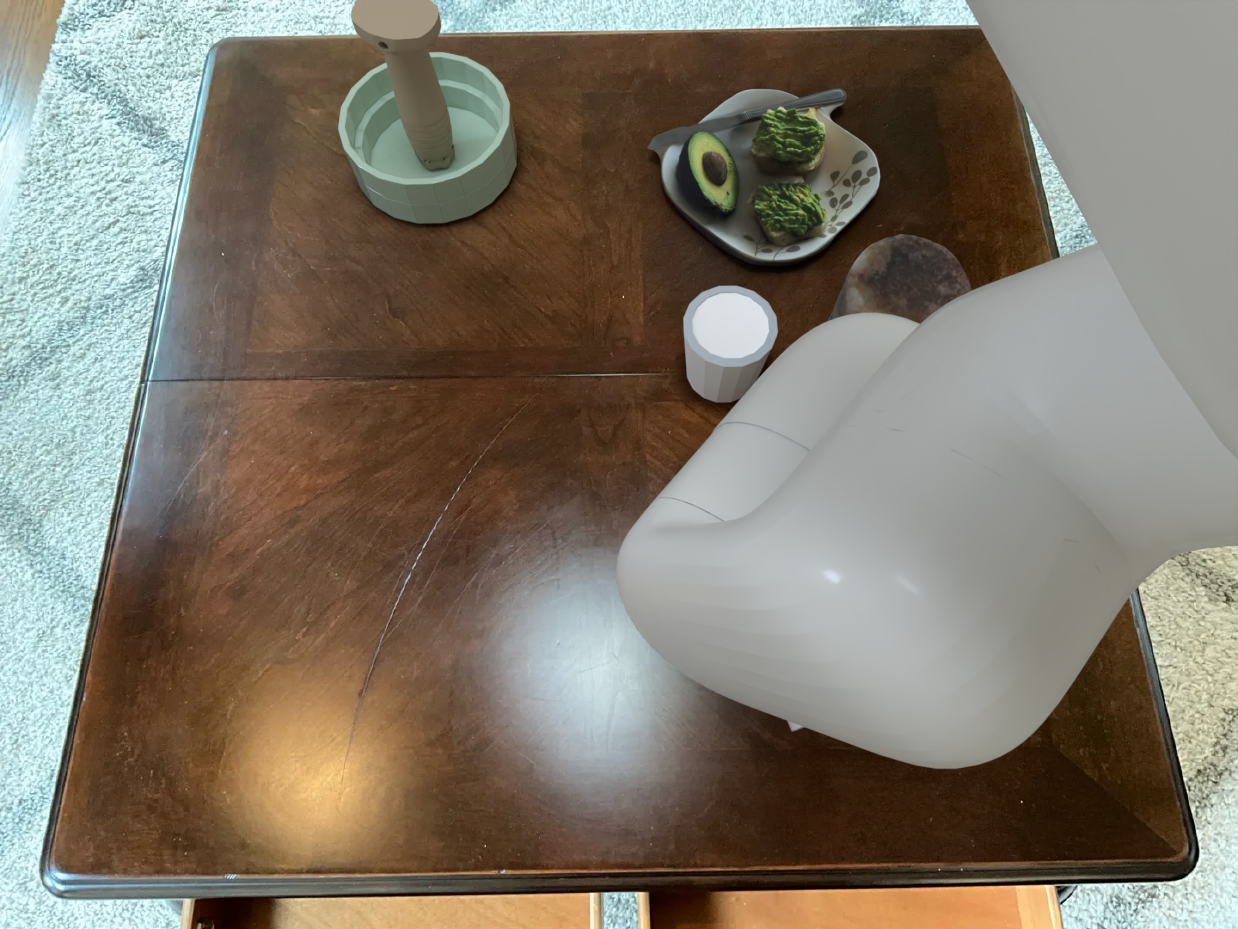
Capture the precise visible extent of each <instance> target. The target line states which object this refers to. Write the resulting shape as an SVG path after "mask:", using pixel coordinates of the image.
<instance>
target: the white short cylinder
mask: <svg viewBox="0 0 1238 929" xmlns="http://www.w3.org/2000/svg"><path fill="white" fill-rule="evenodd" d="M682 321H683V339H684V354H685V355H684V356H685V368H686V370H685V371H686V379H687V381H688V383H689V385H690V386H691V388H692V390H693V391H695V393H697V394H698V395H700V397H702V398H703V399H705V400H708V401H711V402H714V403H733V402H735V401H739V400H740V399H741V398H742V397H743V396H744V395H745V393H746V392H747V391H748V390H749V389H750V388H751V386H752V385H753V384H754V383H755V382H756V381H757V380H758V379H759V377H760V374H761V372H762V370H763V368H764V366H765V363H766V362H767V359H768V358H769V355H770V353H771V351H772V349H773V347H774V344H775V341H776V339H777V337H778V333H779V328H778V319H777V315H776V313H775V312H774V310H773V309H772V306H771V305H770V303H769V302H768V301H767V300H766V299H765V298H764V297H762V296H761V295H760V294H759V293H757V292H756V291H754V290H751V289H748V288H746V287H742V286H738V285H718V286H714V287H712V288H710V289H707V290H704V291H702V292H700V293H699V294H698V295H697V296H696V297H695V298H694V299H693V300H692V301H690V303H689V304H688V306H687V309H686V311H685V313H684V316H683V318H682Z"/></svg>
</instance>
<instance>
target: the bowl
mask: <svg viewBox="0 0 1238 929" xmlns="http://www.w3.org/2000/svg"><path fill="white" fill-rule="evenodd" d="M429 54H430V57H431V60H432V63H433V66H434V69H435V72H436V75H437V78H438V81H439V84H440V87H441V89H442V92H443V95H444V98H445V101H446V104H447V108H448V112H449V116H450V122H451V128H452V137H453V143H452V144H454V149H455V157H454V158H453V159H452V160H451V161H450V166H449V167H447V168H439V169H435V170H434V171H432V170H428V169H426V167H425V165H424V163H423V162H421V161H419V159H418V158H417V156H416V154H415V151H414V149H413V147H412V145H411V143H410V141H409V139H408V137H407V134H406V132H405V130H404V127H403V124H402V121H401V118H400V115H399V112H398V108H397V104H396V100H395V95H394V91H393V87H392V83H391V79H390V75H389V71H388V68H387V64H386V62H384V63H382V64H380V65H378V66H376V67H375V68H373V69H370V70H369V71H368V72H367V73H366V74H364V76H362V77H361V78H360V79H359V80H358V81H357V82H356V83H355V84H354V85H353V86H352V87H351V88H350V89H349V91H348V93H347V95H346V97H345V99H344V101H343V102H342V104H341V106H340V112H339V120H338V125H337V130H338V131H337V132H338V134H339V138H340V142H341V145H342V148H343V150H344V153H345V155H346V158H347V160H348V162H349V165H350V167H351V169H352V172H353V174H354V176H355V178H356V181H357V183H358V186H359V188H360V190H361V191H362V193H363V194H364V195H365V196H366V197H367V199H368V200H369V201H370V202H371V204H372V205H373V206H374V207H375V208H377V209H378V210H380V211H382V212H384V213H386V214H387V215H389V216H391V217H392V218H394V219H399V220H401V221H406V222H409V223H414V224H423V225H424V224H446V223H449V222H453V221H456V220H461V219H464V218H467V217H470V216H473V215H474V214H476V213H477V212H480V211H481V210H483V209H484V208H485V207H488V206H489V205H491V204H492V203H493V202H494V201H495V200H496V199H497V198H498V197H499V196H500V194H502V192H503V191H504V190H505V189H507V187H508V185H509V183H510V181H511V179H512V177H513V174H514V172H515V169H516V168H517V163H518V162H517V161H518V142H517V137H516V131H515V125H514V119H513V114H512V108H511V107H512V106H511V102H510V100H509V98H508V94H507V92H506V88H505V87H504V84H503V83H502V82H501V81H500V80H499V79H498V78H497V77H496V75H495V74H493V73H492V71H491V70H490V69H489V68H488V67H487V66H485V65H482V64H481V63H479V62H477V61H475V60H473V59H471V58H470V57H467V56H463V55H459V54H455V53H449V52H445V51H429Z"/></svg>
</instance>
